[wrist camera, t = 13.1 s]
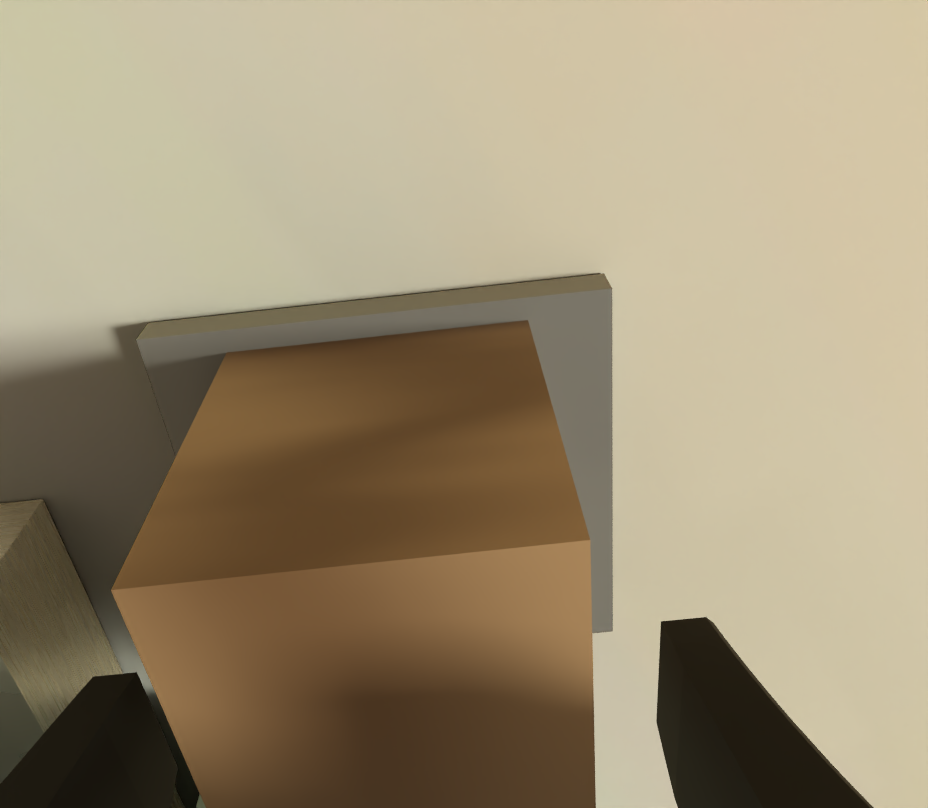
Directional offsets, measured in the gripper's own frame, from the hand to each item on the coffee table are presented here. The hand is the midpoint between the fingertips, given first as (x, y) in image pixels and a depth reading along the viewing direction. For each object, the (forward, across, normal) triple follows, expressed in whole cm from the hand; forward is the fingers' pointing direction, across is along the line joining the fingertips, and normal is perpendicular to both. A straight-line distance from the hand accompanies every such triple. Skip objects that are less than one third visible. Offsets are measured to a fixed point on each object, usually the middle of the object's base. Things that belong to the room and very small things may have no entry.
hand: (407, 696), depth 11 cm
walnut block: (+3, 0, -2) cm, 4 cm away
